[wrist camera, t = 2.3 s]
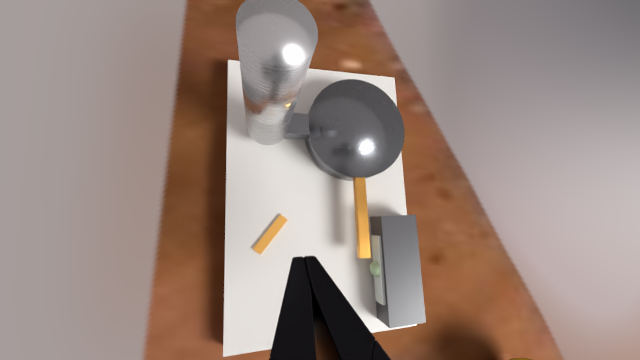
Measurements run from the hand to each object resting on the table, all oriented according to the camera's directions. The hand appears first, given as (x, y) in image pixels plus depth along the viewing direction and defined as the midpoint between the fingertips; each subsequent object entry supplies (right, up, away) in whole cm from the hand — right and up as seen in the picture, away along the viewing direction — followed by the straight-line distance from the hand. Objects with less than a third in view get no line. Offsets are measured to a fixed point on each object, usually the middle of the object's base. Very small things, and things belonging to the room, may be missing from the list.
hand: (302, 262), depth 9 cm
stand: (+1, +2, +13) cm, 13 cm away
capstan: (+1, +4, +11) cm, 12 cm away
